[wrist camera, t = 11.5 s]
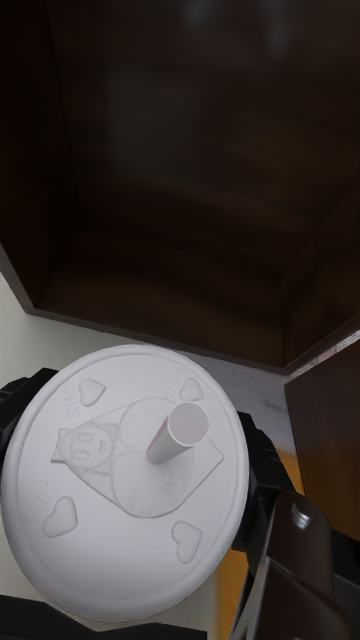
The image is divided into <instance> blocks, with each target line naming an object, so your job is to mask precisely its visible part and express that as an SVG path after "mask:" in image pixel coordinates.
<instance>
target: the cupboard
mask: <svg viewBox="0 0 360 640" xmlns="http://www.w3.org/2000/svg"><path fill="white" fill-rule="evenodd" d="M0 271H1V273H2V275H3V276H4V278H5V280H6V281H7V283H8V285H9V286H10V288H11V290H12V291H13V293H14V295H15V296H16V298H17V300H18V302H19V303H20V305H21V306H22V308H23V310H24V311H25V313H27V314H31V315H36V316H40V317H44V318H48V319H52V320H57V321H61V322H65V323H69V324H73V325H78V326H82V327H86V328H90V329H94V330H99V331H103V332H107V333H111V334H115V335H120V336H124V337H128V338H132V339H136V340H141V341H145V342H149V343H153V344H157V345H162V346H166V347H170V348H174V349H178V350H183V351H187V352H191V353H195V354H199V355H204V356H208V357H212V358H216V359H220V360H225V361H229V362H233V363H237V364H241V365H246V366H250V367H254V368H258V369H262V370H267V371H271V372H275V373H279V374H283V375H288V376H289V375H290V374H292V373H294V372H295V371H296V370H298V369H299V368H301V367H303V366H304V365H306V364H307V363H309V362H310V361H312V360H313V359H315V358H316V357H318V356H319V355H321V354H323V353H324V352H326V351H327V350H329V349H330V348H332V347H333V346H335V345H336V344H338V343H339V342H341V341H343V340H344V339H346V338H347V337H349V336H350V335H352V334H353V333H355V332H356V331H358V330H360V0H0Z"/></svg>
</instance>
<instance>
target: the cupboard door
mask: <svg viewBox="0 0 360 640" xmlns="http://www.w3.org/2000/svg"><path fill="white" fill-rule="evenodd" d="M284 386H285V391H286V396H287V401H288V406H289V411H290V416H291V422H292V427H293V432H294V437H295V442H296V447H297V452H298V457H299V462H300V467H301V472H302V477H303V482H304V487H305V493H306V497H307V498H308V499H310V500H311V501H313V502H314V503H315V504H316V505H317V506H318V507H319V508H320V509H321V510H322V511H323V512H324V514H325V515H326V517H327V518H328V520H329V522H330V525H331V528H332V529H334V530H336V531H339V532H341V533H343V534H345V535H347V536H349V537H351V538H353V539H355V540H357V541H359V542H360V339H359V340H357V341H356V342H354V343H352V344H351V345H349V346H347V347H346V348H344V349H342V350H341V351H339V352H338V353H336V354H334V355H333V356H331V357H329V358H328V359H326V360H324V361H323V362H321V363H319V364H318V365H316V366H314V367H313V368H311V369H310V370H308V371H306V372H305V373H303V374H301V375H300V376H298V377H296V378H295V379H293V380H291V381H290V382H288V383H287V384H285V385H284Z"/></svg>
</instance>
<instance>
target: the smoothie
mask: <svg viewBox="0 0 360 640" xmlns="http://www.w3.org/2000/svg"><path fill="white" fill-rule="evenodd" d="M248 484H249V459H248V450H247V444H246V439H245V435H244V431H243V428H242V425H241V422H240V419H239V417H238V414H237V412H236V410H235V408H234V406H233V404H232V402H231V401H230V399H229V397H228V396H227V394H226V393H225V391H224V390H223V388H222V387H221V386H220V385H219V384H218V382H217V381H216V380H215V379H214V378H213V377H212V376H211V375H210V374H209V373H208V372H207V371H206V370H204V369H203V368H202V367H201V366H199V365H198V364H197V363H195V362H194V361H192V360H190V359H189V358H187V357H185V356H183V355H181V354H179V353H177V352H174V351H171V350H168V349H165V348H161V347H157V346H151V345H141V344H129V345H119V346H114V347H109V348H105V349H101V350H98V351H96V352H93V353H90V354H88V355H86V356H84V357H82V358H80V359H78V360H76V361H74V362H73V363H71V364H70V365H68V366H67V367H65V368H64V369H62V370H61V371H60V372H58V373H57V374H56V375H55V376H54V377H52V378H51V379H50V380H49V381H48V382H47V383H46V384H45V385H44V386H43V387H42V388H41V390H40V391H39V392H38V393H37V394H36V395H35V397H34V398H33V399H32V401H31V402H30V403H29V405H28V406H27V408H26V409H25V411H24V413H23V414H22V416H21V418H20V420H19V422H18V424H17V426H16V428H15V430H14V432H13V435H12V437H11V440H10V442H9V445H8V449H7V452H6V455H5V460H4V465H3V470H2V478H1V496H0V501H1V513H2V520H3V525H4V530H5V534H6V537H7V540H8V543H9V546H10V549H11V551H12V553H13V555H14V558H15V560H16V562H17V563H18V565H19V567H20V568H21V570H22V572H23V573H24V575H25V576H26V577H27V579H28V580H29V581H30V582H31V584H32V585H33V586H34V587H35V588H36V589H37V590H38V591H39V592H40V593H41V594H42V595H43V596H44V597H45V598H47V599H48V600H50V601H51V602H52V603H54V604H55V605H56V606H58V607H60V608H62V609H64V610H65V611H67V612H69V613H72V614H74V615H77V616H80V617H82V618H86V619H91V620H95V621H102V622H126V621H133V620H138V619H143V618H146V617H149V616H152V615H155V614H158V613H160V612H162V611H164V610H166V609H169V608H171V607H173V606H174V605H176V604H177V603H179V602H180V601H182V600H184V599H185V598H187V597H188V596H189V595H190V594H191V593H193V592H194V591H195V590H196V589H198V588H199V587H200V586H201V585H202V584H203V583H204V582H205V581H206V580H207V579H208V578H209V576H210V575H211V574H212V573H213V571H214V570H215V569H216V568H217V567H218V565H219V564H220V562H221V561H222V559H223V558H224V556H225V555H226V553H227V551H228V549H229V547H230V546H231V544H232V542H233V540H234V538H235V535H236V533H237V530H238V528H239V525H240V522H241V519H242V516H243V513H244V508H245V504H246V500H247V492H248Z"/></svg>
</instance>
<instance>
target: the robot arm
mask: <svg viewBox="0 0 360 640" xmlns="http://www.w3.org/2000/svg"><path fill="white" fill-rule="evenodd" d="M58 372H60V371H57V370H53V369H49V368H42V369H41V370H39V371H38V372H37V373H36V374H35V375H33V376H32V377H31V378H26V377H23V378H20V379H17V380H15V381H12V382H9V383H8V384H7V385H5V386H4V387H3V388H1V389H0V496H1V478H2V470H3V465H4V460H5V455H6V452H7V449H8V445H9V442H10V440H11V437H12V435H13V432H14V430H15V428H16V426H17V424H18V422H19V420H20V418H21V416H22V414H23V413H24V411H25V409H26V408H27V406H28V405H29V403H30V402H31V401H32V399H33V398H34V397H35V395H36V394H37V393H38V392H39V391H40V390H41V388H42V387H43V386H44V385H45V384H46V383H47V382H48V381H49V380H50V379H51V378H52V377H54V376H55V375H56V374H57V373H58ZM236 412H237V414H238V417H239V419H240V422H241V425H242V428H243V431H244V435H245V439H246V444H247V450H248V459H249V484H248V492H247V500H246V504H245V508H244V513H243V516H242V519H241V522H240V525H239V528H238V530H237V533H236V535H235V538H234V540H233V542H232V544H231V546H232V550H236V551H241V552H246V555H247V560H248V565H249V566H248V569H247V571H246V574H245V578H244V582H243V586H242V589H241V593H240V597H239V601H238V605H237V608H236V612H235V616H234V620H233V624H232V627H231V631H230V635H229V639H228V640H360V542H359V541H357V540H355V539H353V538H351V537H349V536H347V535H345V534H343V533H341V532H339V531H336V530H334V529H332V528H331V525H330V522H329V520H328V518H327V517H326V515H325V514H324V512H323V511H322V510H321V509H320V508H319V507H318V506H317V505H316V504H315V503H314V502H313V501H311V500H310V499H308V498H307V497H305V496H303V495H301V494H299V493H297V492H296V490H295V488H294V486H293V484H292V482H291V480H290V478H289V476H288V474H287V472H286V470H285V468H284V466H283V464H282V462H280V458H279V455H278V453H276V449H275V447H274V445H273V443H272V441H271V440H270V439H269V438H268V437H267V435H266V434H265V433H264V432H263V431H262V430H259V429H256V426H255V424H254V422H253V420H252V417H251V415H250V414H248V413H243V412H239V411H236ZM0 640H207V631H201V630H195V629H190V628H184V627H179V626H173V625H168V624H162V623H156V622H154V623H148V624H143V625H137V626H132V627H126V628H120V629H115V630H109V631H103V632H96V631H93V630H91V629H89V628H87V627H85V626H84V625H82V624H80V623H79V622H77V621H75V620H74V619H72V618H70V617H69V616H67V615H65V614H63V613H62V612H60V611H58V610H57V609H55V608H53V607H52V606H50V605H48V604H46V603H45V602H39V601H34V600H28V599H23V598H17V597H11V596H6V595H0Z"/></svg>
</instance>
